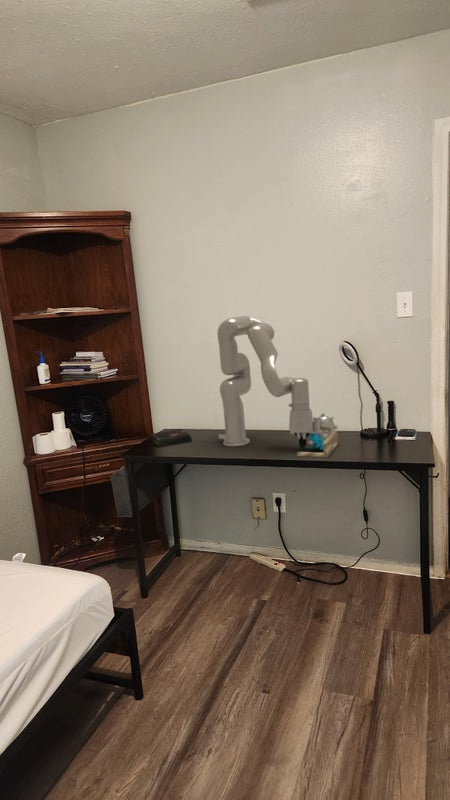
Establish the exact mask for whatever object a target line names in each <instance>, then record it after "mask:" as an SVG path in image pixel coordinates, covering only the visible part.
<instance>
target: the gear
mask: <svg viewBox="0 0 450 800" xmlns="http://www.w3.org/2000/svg"><path fill="white" fill-rule="evenodd" d="M334 419H335V418H334V417H333V416H331V417H329V416H326V415H325V412H324V413H321V414H320V416H318V417H317V416H314V417H313V422H314V432H315V433H316V434H317V435H316V436H318V435H320V436H321V437H320V438H321V439H322V438H325V439H324V440H326V439H327V438H328V437H329V436H330V434H331V433H332V432H333V431H336V430H338V428H339V427H338V425H335V423H334Z"/></svg>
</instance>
